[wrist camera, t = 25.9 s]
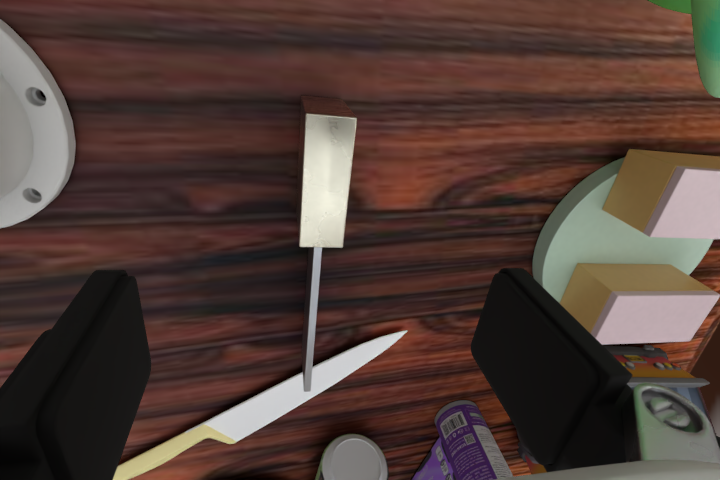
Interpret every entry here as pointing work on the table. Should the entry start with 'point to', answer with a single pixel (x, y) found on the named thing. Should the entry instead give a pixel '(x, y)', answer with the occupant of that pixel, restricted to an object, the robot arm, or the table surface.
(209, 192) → the table surface
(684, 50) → the table surface
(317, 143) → the cake knife
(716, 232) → the cake slice
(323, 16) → the table surface
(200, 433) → the knife
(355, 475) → the beverage can
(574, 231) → the cake plate
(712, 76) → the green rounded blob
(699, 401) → the toy car
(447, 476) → the candy box
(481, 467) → the container
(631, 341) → the cake piece
